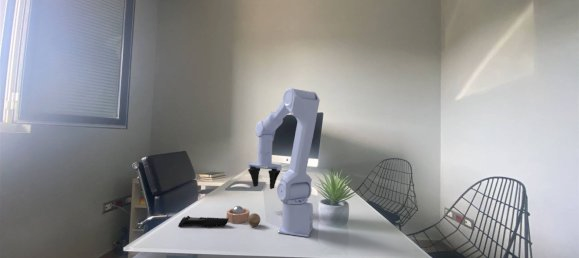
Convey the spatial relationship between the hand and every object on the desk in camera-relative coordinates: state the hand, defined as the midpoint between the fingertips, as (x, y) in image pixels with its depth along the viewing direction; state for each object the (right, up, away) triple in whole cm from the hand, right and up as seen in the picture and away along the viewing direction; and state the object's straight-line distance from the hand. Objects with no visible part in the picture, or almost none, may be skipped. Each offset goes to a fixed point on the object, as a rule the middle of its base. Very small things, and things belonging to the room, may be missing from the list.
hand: (263, 187), depth 91 cm
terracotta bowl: (-8, -9, -10) cm, 15 cm away
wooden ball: (-1, -7, -16) cm, 17 cm away
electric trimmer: (-18, -9, -16) cm, 26 cm away
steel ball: (-8, -6, -9) cm, 14 cm away
